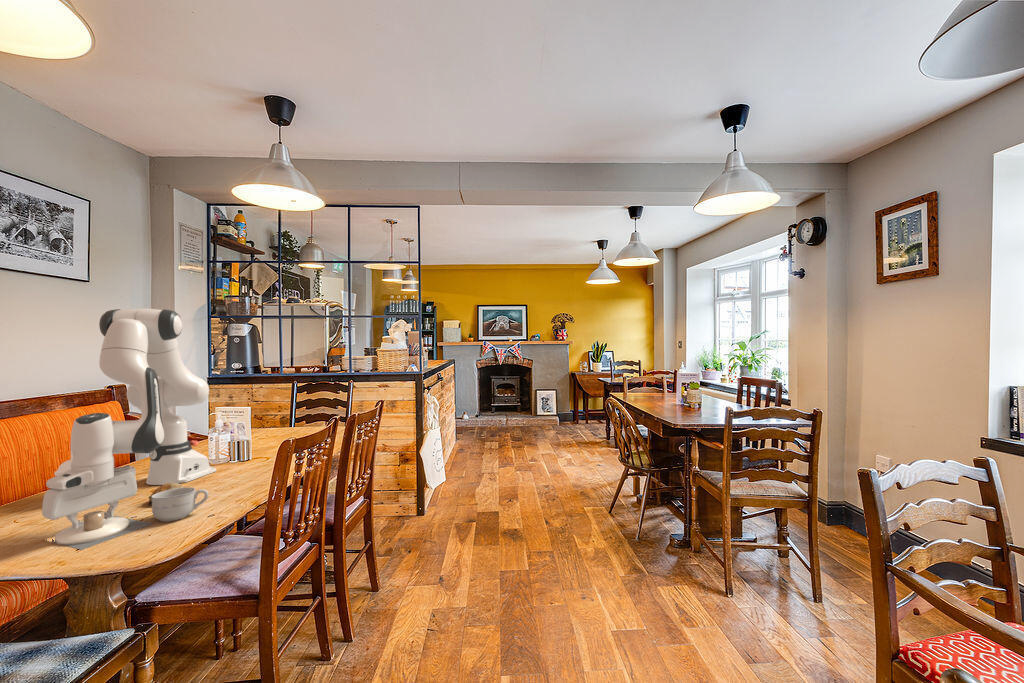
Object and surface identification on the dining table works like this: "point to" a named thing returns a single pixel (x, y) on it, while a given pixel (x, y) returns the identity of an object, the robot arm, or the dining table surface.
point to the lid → (92, 529)
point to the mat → (132, 527)
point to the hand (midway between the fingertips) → (93, 523)
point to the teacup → (175, 503)
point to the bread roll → (164, 488)
